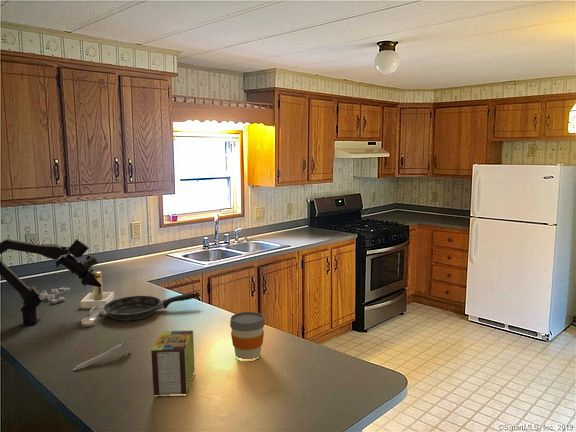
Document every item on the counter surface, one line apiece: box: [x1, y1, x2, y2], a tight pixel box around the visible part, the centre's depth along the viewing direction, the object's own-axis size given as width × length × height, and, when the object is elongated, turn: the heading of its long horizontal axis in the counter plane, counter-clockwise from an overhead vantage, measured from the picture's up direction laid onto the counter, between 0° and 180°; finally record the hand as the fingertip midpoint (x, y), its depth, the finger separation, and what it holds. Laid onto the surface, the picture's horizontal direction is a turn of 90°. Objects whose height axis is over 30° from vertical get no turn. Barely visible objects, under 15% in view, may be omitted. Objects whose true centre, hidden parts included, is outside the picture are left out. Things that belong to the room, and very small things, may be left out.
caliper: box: [72, 338, 132, 372], centre depth 167 cm, size 20×1×6 cm, turn 131°
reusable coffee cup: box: [229, 311, 266, 359], centre depth 170 cm, size 13×12×15 cm
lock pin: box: [92, 270, 104, 301], centre depth 216 cm, size 4×4×13 cm
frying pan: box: [104, 292, 201, 322], centre depth 218 cm, size 44×25×7 cm, turn 107°
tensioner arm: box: [80, 306, 108, 328], centre depth 210 cm, size 21×7×2 cm, turn 6°
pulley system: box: [39, 287, 71, 305], centre depth 242 cm, size 27×5×15 cm
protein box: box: [150, 330, 196, 396], centre depth 149 cm, size 10×15×16 cm
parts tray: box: [80, 291, 115, 309], centre depth 231 cm, size 14×12×4 cm
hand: (100, 285), depth 216 cm, fingers closed on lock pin, 4 cm apart
